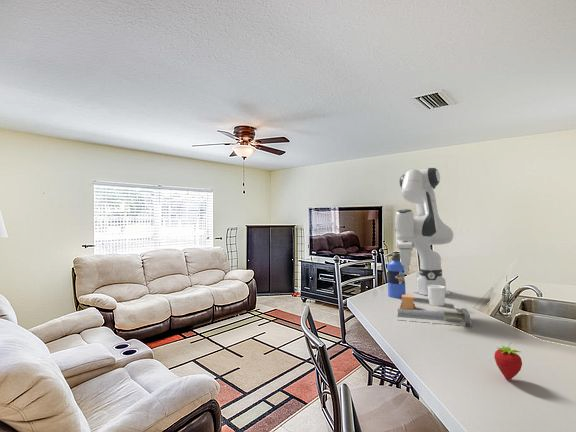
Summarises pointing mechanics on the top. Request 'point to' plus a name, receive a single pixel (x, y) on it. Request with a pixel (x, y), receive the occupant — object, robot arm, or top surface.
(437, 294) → the white cup
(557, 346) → the top surface
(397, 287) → the water bottle
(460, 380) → the top surface
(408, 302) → the orange notched block
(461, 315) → the rail
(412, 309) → the pad
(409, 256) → the robot arm
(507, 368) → the strawberry
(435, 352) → the top surface
